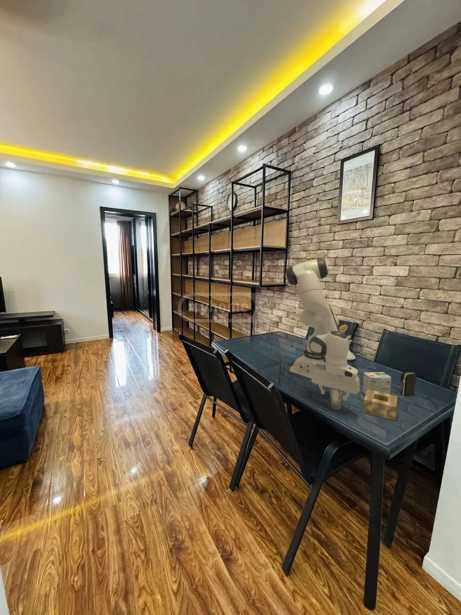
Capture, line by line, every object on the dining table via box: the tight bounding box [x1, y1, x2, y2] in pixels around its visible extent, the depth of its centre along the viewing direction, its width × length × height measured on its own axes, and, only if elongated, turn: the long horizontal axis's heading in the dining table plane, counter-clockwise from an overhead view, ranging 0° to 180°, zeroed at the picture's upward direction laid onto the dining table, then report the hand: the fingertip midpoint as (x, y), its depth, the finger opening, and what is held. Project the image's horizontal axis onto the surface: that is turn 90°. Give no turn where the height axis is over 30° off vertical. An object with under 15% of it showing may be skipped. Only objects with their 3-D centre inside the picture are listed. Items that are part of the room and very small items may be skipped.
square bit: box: [329, 388, 343, 402], centre depth 126 cm, size 5×5×8 cm
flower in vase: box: [338, 324, 356, 361], centre depth 181 cm, size 13×11×25 cm
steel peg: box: [330, 388, 343, 411], centre depth 117 cm, size 4×4×10 cm
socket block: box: [362, 389, 398, 421], centre depth 115 cm, size 12×12×6 cm
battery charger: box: [399, 371, 418, 397], centre depth 130 cm, size 7×4×11 cm, turn 105°
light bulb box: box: [362, 371, 392, 395], centre depth 129 cm, size 11×7×11 cm, turn 92°
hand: (333, 396), depth 117 cm, fingers open, 8 cm apart
